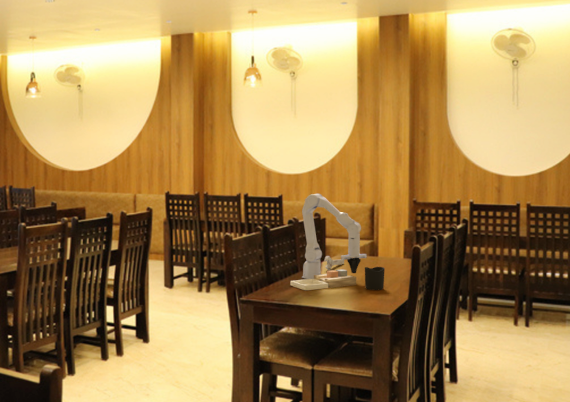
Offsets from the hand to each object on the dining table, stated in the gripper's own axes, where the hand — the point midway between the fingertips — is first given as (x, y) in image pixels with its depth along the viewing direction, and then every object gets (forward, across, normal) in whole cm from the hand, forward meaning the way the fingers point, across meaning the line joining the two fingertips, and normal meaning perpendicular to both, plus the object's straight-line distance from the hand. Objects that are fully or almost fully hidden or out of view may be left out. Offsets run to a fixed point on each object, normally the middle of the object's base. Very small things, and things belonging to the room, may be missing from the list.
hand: (353, 273), depth 325 cm
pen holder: (+5, -1, -19) cm, 20 cm away
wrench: (+5, +17, +42) cm, 46 cm away
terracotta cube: (+2, -13, 0) cm, 13 cm away
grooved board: (+4, -11, 0) cm, 12 cm away
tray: (+4, -26, 0) cm, 27 cm away
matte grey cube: (+2, -7, 0) cm, 8 cm away
